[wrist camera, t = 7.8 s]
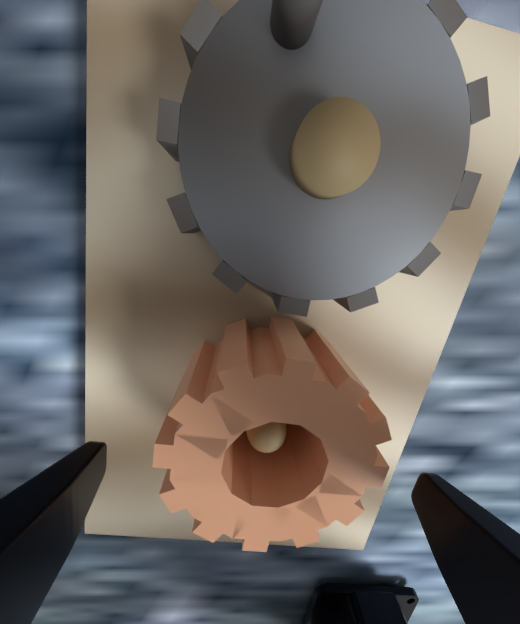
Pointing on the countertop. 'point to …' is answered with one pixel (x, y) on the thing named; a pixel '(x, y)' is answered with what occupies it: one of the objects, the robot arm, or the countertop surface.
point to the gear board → (199, 306)
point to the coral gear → (283, 462)
